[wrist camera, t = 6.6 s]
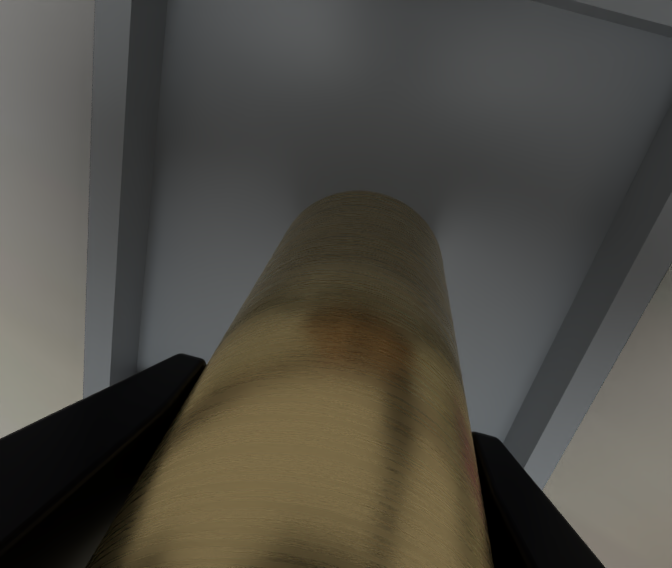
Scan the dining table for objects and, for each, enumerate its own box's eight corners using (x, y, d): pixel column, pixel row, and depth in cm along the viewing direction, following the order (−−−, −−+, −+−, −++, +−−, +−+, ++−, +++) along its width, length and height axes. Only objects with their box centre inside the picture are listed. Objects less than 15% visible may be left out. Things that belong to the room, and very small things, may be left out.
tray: (738, 17, 12) (814, 13, 10) (501, 477, 19) (515, 537, 17) (155, -137, 12) (100, -176, 10) (120, 376, 19) (82, 422, 17)
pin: (466, 216, 12) (647, 747, 3) (414, 358, 14) (433, 962, 5) (296, 170, 12) (-20, 568, 3) (266, 318, 14) (7, 848, 5)
